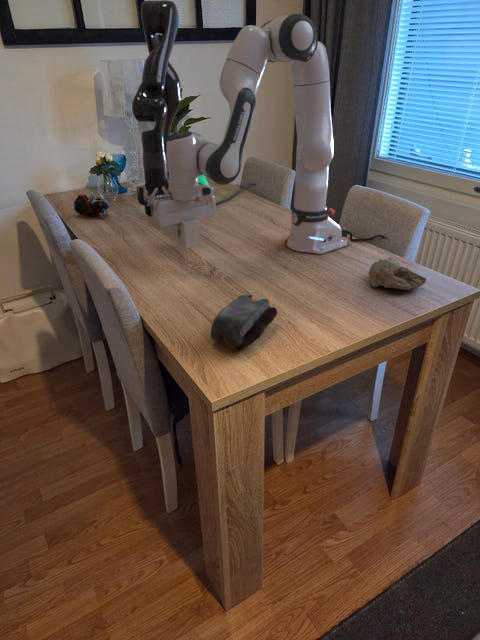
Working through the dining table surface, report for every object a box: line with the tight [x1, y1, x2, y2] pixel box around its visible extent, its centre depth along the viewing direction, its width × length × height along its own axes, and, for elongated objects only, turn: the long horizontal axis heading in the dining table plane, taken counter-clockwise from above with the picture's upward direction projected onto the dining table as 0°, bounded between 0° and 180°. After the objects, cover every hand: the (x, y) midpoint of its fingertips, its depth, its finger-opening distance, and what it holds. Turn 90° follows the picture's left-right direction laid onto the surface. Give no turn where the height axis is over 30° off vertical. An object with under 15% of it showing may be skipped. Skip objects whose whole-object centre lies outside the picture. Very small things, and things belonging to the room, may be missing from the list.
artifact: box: [368, 257, 427, 291], centre depth 135 cm, size 18×8×15 cm
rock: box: [210, 294, 278, 352], centre depth 109 cm, size 18×11×8 cm, turn 152°
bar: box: [147, 200, 201, 250], centre depth 146 cm, size 28×5×8 cm, turn 34°
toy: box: [73, 194, 111, 220], centre depth 187 cm, size 12×9×15 cm
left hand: (159, 214), depth 153 cm, fingers open, 7 cm apart
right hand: (186, 234), depth 140 cm, fingers closed on bar, 5 cm apart
